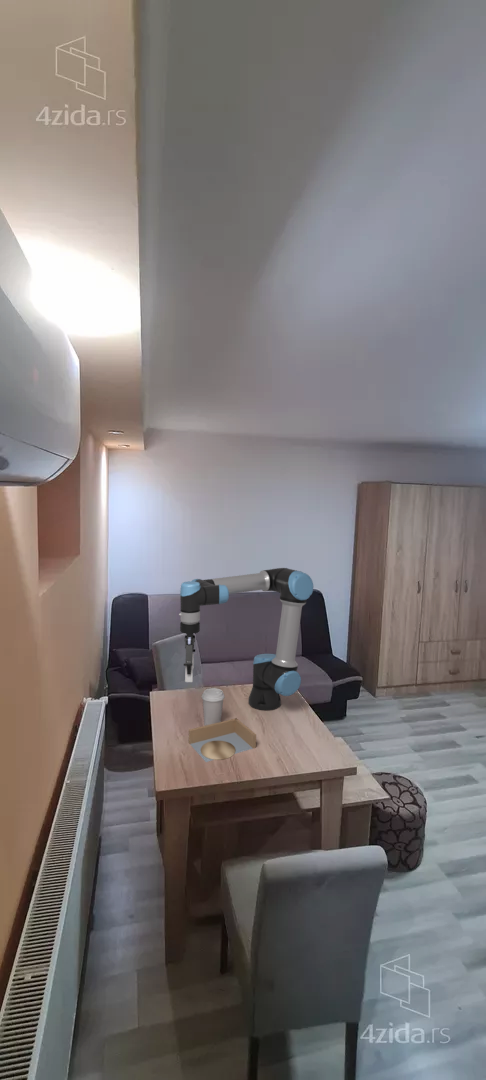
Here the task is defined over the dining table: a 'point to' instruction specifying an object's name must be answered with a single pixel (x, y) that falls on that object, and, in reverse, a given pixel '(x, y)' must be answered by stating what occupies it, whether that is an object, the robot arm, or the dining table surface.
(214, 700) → the coffee cup
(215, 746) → the pad
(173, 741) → the dining table surface
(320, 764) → the dining table surface
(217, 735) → the tray
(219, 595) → the robot arm
